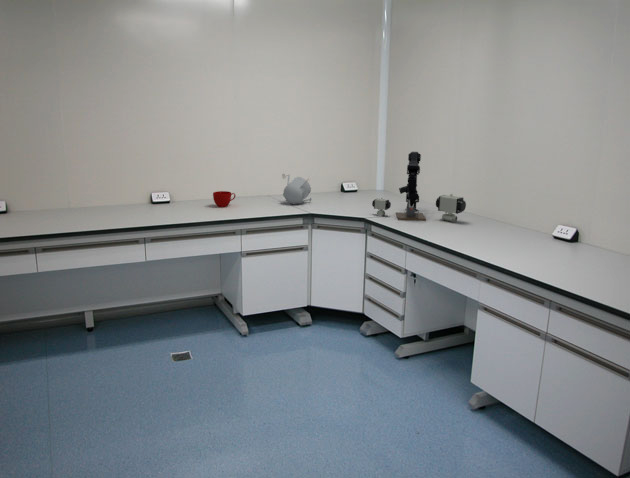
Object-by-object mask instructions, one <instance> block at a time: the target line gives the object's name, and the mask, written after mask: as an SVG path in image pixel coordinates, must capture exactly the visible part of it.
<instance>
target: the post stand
mask: <svg viewBox="0 0 630 478" xmlns="http://www.w3.org/2000/svg"><path fill="white" fill-rule="evenodd" d="M405 209H406V210H405V211H406V212H395V216H396V219H397V221H413V222H414V221H418V222H419V221H420V222H421V221H422V222H426V221H427V218H426V216H425V214H424V213H423V212H416V211H415V207H413V208H408V207H407V206H406V208H405Z"/></svg>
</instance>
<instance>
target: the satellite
mask: <svg viewBox="0 0 630 478" xmlns="http://www.w3.org/2000/svg"><path fill="white" fill-rule="evenodd" d="M286 177H287V185H286V186H285V187H284V190H283V194H282V196H283V198H284V199H285V201H286V202H287V203H289V204H291V205H298V204H301V203H303V202H308V201H309V202H311V201H312V197H310V198H308V197H309V195H310V193H311V191H312V190H311V189H312V187H311V184H310V182H308V181H310V177H308V178H307V179H305V178H303V177H301V176H296V177H295V178H294V179H293V180H292V181H290V178H291V176H290V174H288V175H286V174H285V173H282V174H281V178H282V179H283V180H285V179H286ZM306 198H308V199H306Z"/></svg>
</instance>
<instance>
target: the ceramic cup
mask: <svg viewBox="0 0 630 478" xmlns="http://www.w3.org/2000/svg"><path fill="white" fill-rule="evenodd" d="M232 196H233V198H232ZM235 198H236V194H235V193H234V192H233V193H232V192H231V191H227V190H226V191H225V190H220V191H218V190H217V191H214V192H212V199H213V202H214V203H215V205H216V206H217V207H218V208H226V206H227V207H228V206H229V204H230V203H231V202H232V201H233V200H235Z"/></svg>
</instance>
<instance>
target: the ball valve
mask: <svg viewBox="0 0 630 478" xmlns="http://www.w3.org/2000/svg"><path fill="white" fill-rule="evenodd" d="M435 206H436V208H437V211H439V212H443V213H444V214H442V215H441V219H442V220H443V221H444V220H445V221H446V222H450V221H451V223H456V222H457V221H458V214H461V213H463V212H464V211H465V210H466V207H467V203H466V200H465V199H464V197H461V196H455V195H453V194H452V193H451V194H449V195H447V194H443V195H440V196H438V197H437V198H436V200H435ZM455 214H457V215H455Z"/></svg>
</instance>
